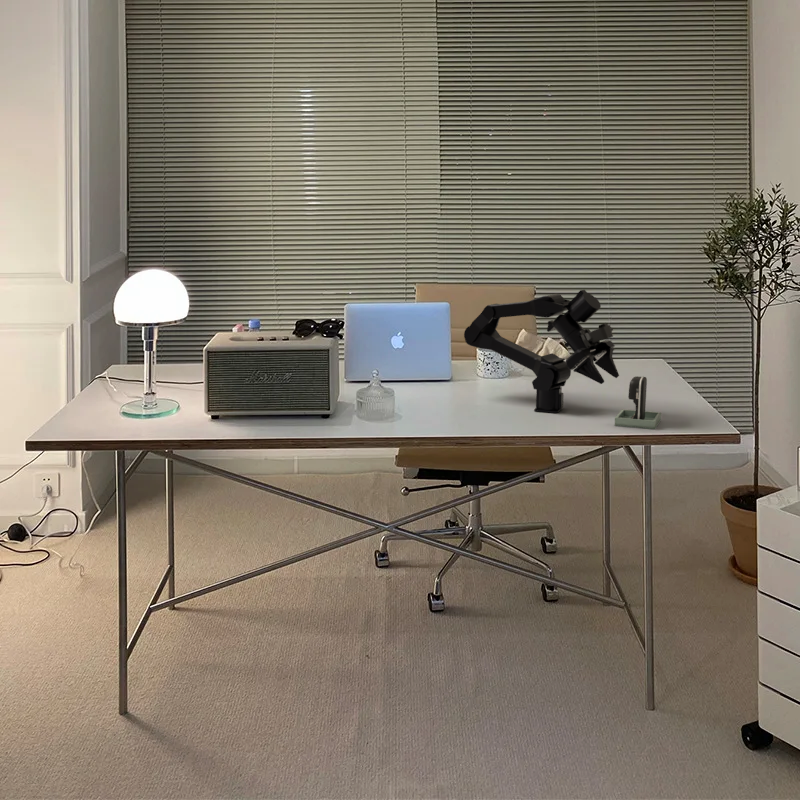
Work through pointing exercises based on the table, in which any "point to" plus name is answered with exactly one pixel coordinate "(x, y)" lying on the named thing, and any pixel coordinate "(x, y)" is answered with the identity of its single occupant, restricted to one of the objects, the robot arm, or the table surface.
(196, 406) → the table surface
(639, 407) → the dark grey curved piece
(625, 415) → the tray
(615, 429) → the table surface
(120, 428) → the table surface
